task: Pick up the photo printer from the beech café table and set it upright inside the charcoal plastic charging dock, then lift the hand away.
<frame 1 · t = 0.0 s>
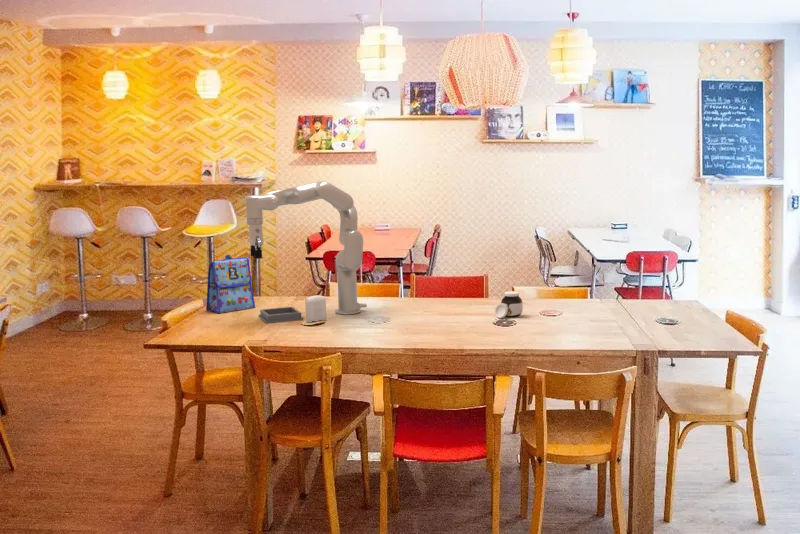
hand: (256, 257, 409), 31 cm above the table, fingers open, 9 cm apart
spread jar: (508, 317, 412), on the table
lunch bag: (230, 309, 445), on the table
photo printer: (316, 321, 412), on the table
charging dock: (280, 318, 420), on the table
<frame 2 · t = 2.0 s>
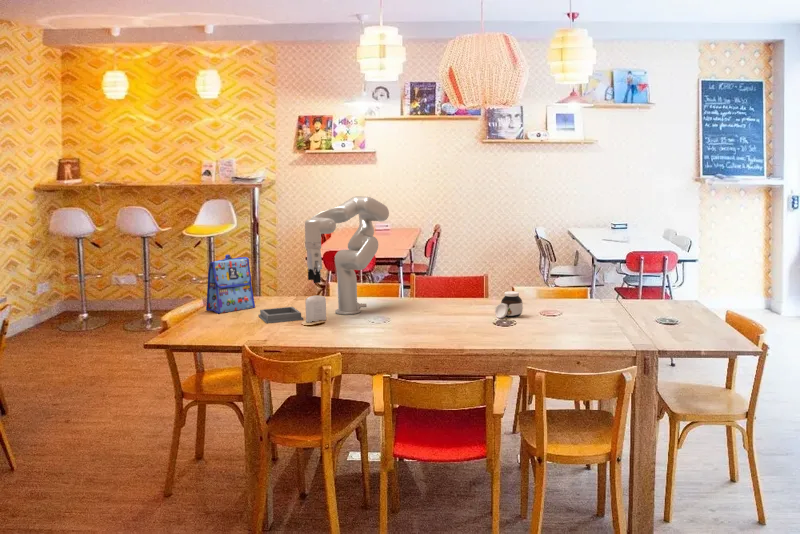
hand: (314, 281, 409), 19 cm above the table, fingers open, 9 cm apart
nothing on the table moved.
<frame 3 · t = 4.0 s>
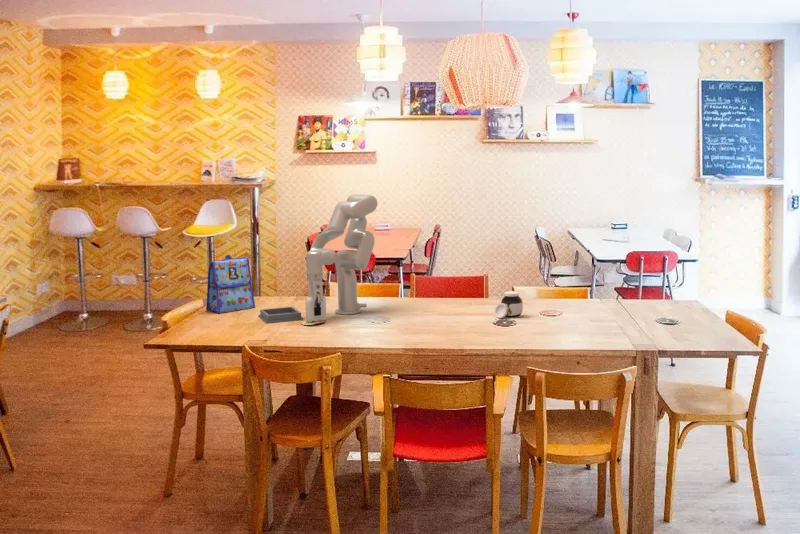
hand: (316, 313, 412), 3 cm above the table, fingers closed on photo printer, 4 cm apart
photo printer: (316, 321, 412), on the table, touching gripper
everything else where it was.
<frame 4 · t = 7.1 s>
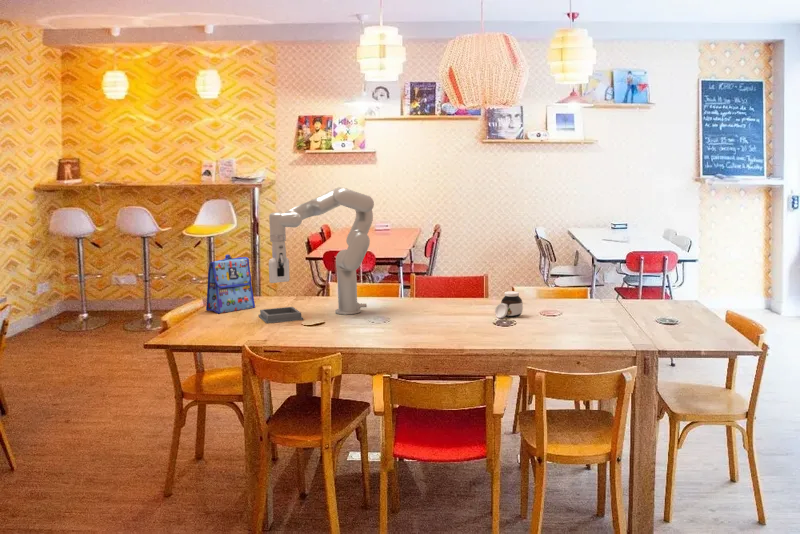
hand: (279, 275, 417), 21 cm above the table, fingers closed on photo printer, 4 cm apart
photo printer: (279, 282, 417), point 18 cm above the table, touching gripper
everything else where it was.
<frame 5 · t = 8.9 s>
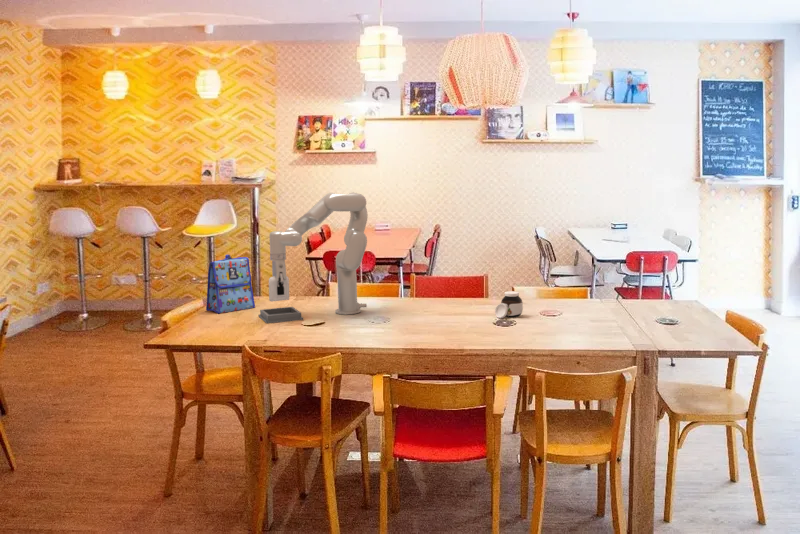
hand: (279, 293, 418), 12 cm above the table, fingers closed on photo printer, 4 cm apart
photo printer: (279, 300, 419), point 9 cm above the table, touching gripper
everything else where it was.
when the fingers open (5 cm above the table, at t = 10.6 s): photo printer stays where it is, resting on charging dock.
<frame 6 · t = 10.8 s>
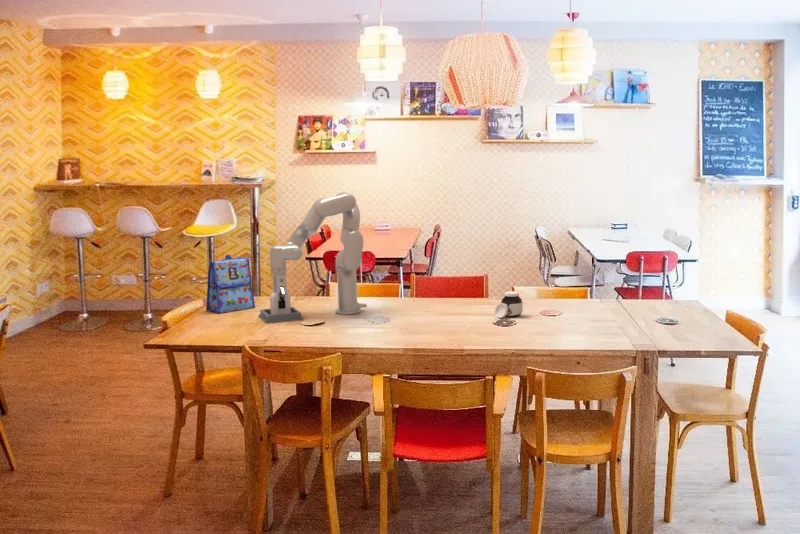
hand: (280, 306, 419), 6 cm above the table, fingers open, 6 cm apart
photo printer: (280, 316, 420), point 1 cm above the table, touching charging dock
everything else where it was.
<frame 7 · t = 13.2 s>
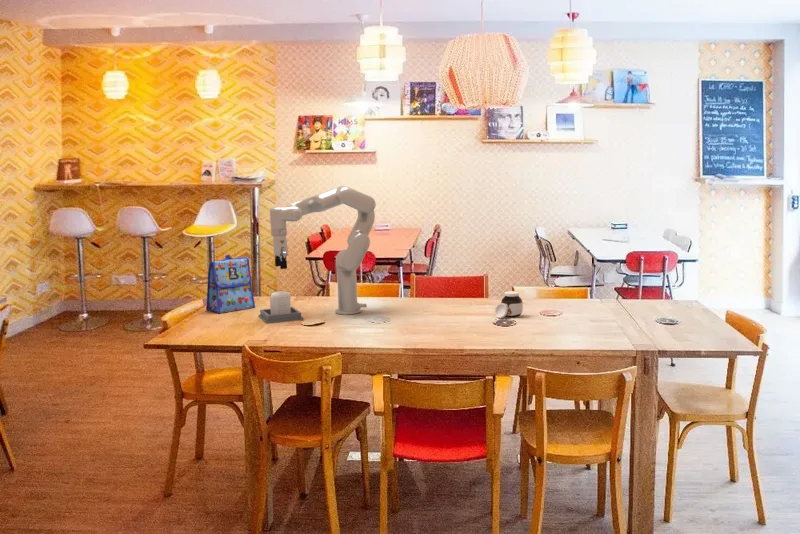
hand: (281, 267, 418), 25 cm above the table, fingers open, 9 cm apart
nothing on the table moved.
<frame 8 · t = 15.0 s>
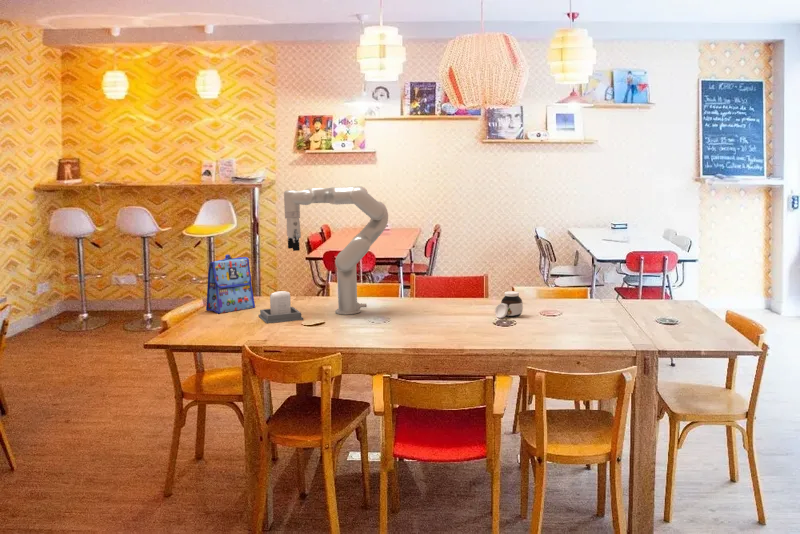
hand: (293, 249, 426), 32 cm above the table, fingers open, 9 cm apart
nothing on the table moved.
at the end: photo printer inside the target area on the charging dock (0.2 cm from its centre), point 0.8 cm above the charging dock's base; photo printer tilted 0°; the gripper is holding nothing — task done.
